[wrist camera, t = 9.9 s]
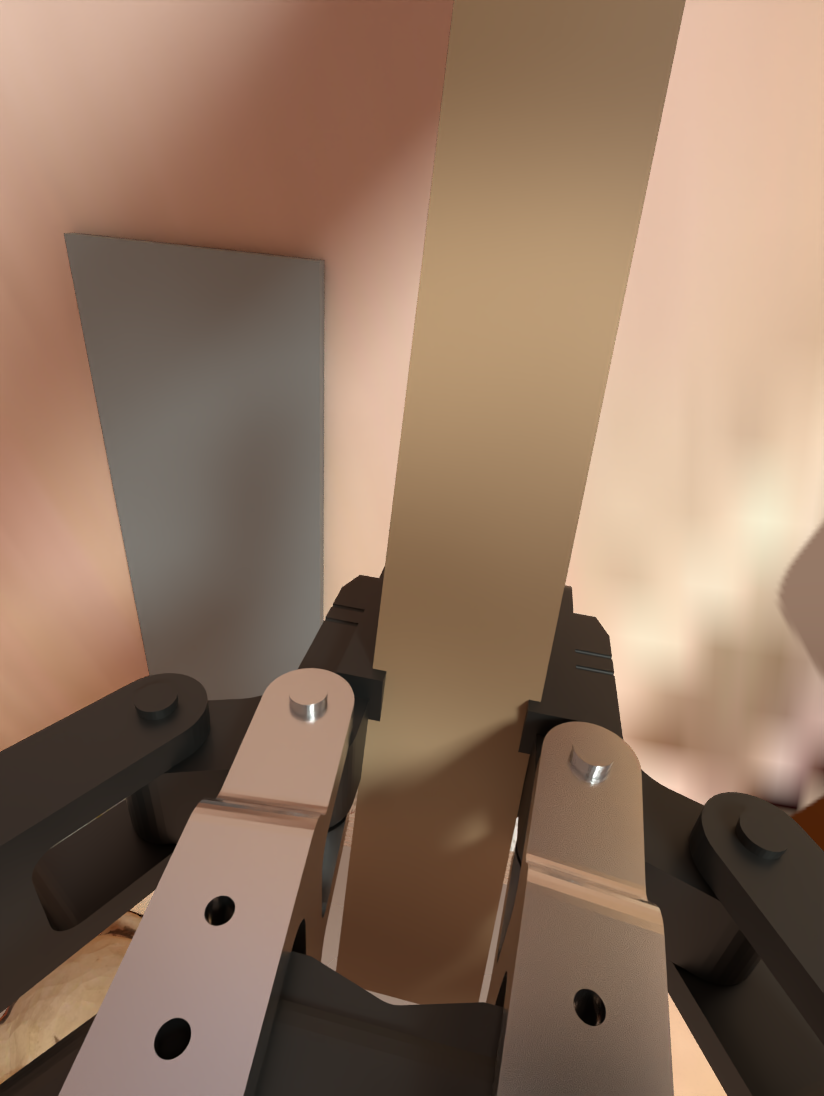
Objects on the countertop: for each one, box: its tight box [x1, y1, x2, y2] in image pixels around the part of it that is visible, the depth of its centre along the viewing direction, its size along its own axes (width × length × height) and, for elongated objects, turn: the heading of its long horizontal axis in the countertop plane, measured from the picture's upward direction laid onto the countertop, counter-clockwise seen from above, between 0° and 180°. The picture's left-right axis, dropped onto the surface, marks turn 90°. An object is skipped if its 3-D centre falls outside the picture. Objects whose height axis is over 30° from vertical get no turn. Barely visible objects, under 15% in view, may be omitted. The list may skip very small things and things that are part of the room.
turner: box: [321, 0, 686, 1005], centre depth 11 cm, size 22×6×4 cm, turn 175°
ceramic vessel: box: [0, 912, 142, 1084], centre depth 51 cm, size 18×19×25 cm
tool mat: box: [64, 233, 324, 700], centre depth 34 cm, size 28×12×1 cm, turn 175°
